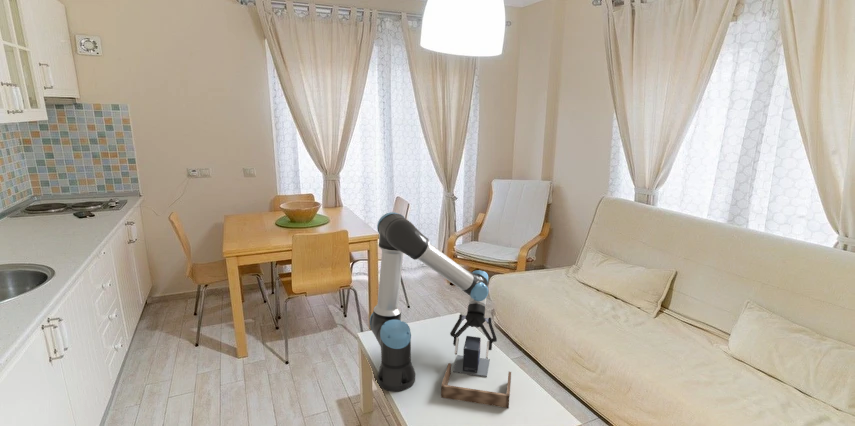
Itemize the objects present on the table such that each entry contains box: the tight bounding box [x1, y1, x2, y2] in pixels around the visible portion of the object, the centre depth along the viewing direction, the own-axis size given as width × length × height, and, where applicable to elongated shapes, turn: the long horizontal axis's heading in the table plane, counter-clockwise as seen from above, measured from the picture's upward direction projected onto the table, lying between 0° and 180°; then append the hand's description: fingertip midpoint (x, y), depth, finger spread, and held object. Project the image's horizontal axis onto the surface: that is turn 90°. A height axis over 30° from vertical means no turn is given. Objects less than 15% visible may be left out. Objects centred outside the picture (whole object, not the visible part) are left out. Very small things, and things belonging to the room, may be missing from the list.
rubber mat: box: [452, 354, 491, 378], centre depth 181 cm, size 14×12×1 cm
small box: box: [462, 335, 482, 373], centre depth 180 cm, size 11×6×10 cm, turn 168°
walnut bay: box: [440, 362, 512, 409], centre depth 166 cm, size 25×15×5 cm, turn 77°
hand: (471, 355), depth 177 cm, fingers open, 12 cm apart
